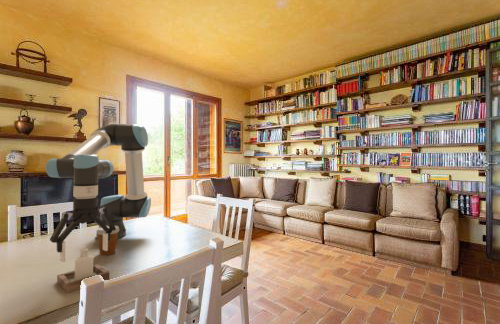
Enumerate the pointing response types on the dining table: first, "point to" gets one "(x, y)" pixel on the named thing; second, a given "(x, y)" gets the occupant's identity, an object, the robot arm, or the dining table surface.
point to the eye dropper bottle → (83, 265)
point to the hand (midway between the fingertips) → (85, 255)
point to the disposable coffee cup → (111, 243)
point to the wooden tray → (69, 281)
